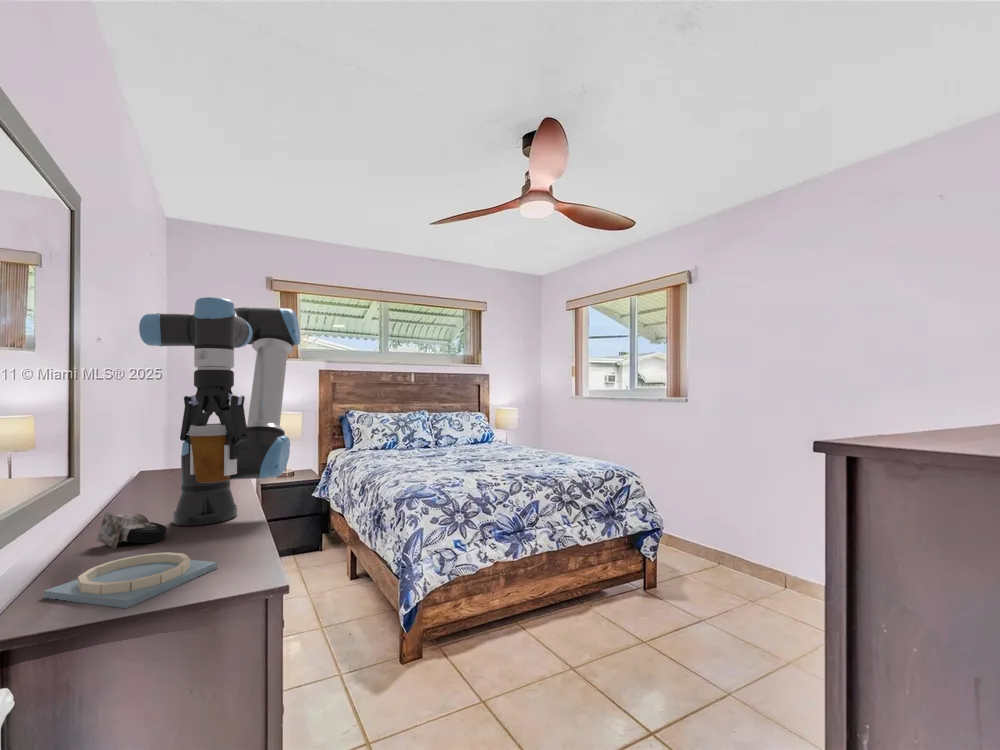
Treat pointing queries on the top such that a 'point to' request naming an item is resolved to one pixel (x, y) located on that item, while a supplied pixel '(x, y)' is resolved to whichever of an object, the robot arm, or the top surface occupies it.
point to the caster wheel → (129, 529)
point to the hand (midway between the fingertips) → (213, 474)
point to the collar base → (131, 579)
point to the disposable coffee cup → (208, 452)
